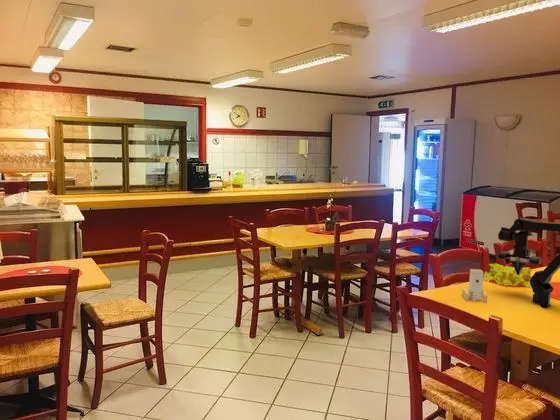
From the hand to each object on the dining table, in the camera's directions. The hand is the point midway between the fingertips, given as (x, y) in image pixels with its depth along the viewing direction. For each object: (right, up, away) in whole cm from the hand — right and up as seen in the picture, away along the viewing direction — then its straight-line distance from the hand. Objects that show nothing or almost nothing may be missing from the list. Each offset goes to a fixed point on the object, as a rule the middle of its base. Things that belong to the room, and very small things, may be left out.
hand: (518, 274), depth 229 cm
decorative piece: (+12, -9, +34) cm, 38 cm away
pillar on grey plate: (-23, -11, -3) cm, 25 cm away
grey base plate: (-19, -12, -4) cm, 23 cm away
